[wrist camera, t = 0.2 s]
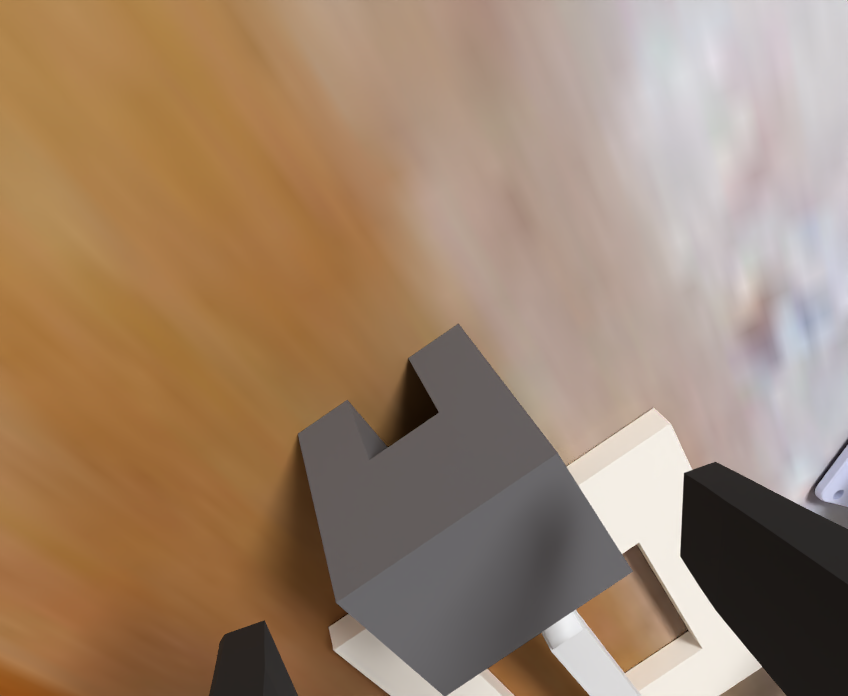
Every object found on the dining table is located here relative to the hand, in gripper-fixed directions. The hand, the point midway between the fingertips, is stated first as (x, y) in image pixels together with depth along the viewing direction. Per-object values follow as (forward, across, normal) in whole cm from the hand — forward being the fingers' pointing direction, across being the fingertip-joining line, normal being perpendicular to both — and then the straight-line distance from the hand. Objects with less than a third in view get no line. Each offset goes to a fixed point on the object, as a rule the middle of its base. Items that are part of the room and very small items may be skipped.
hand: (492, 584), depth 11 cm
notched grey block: (+10, -1, +4) cm, 10 cm away
